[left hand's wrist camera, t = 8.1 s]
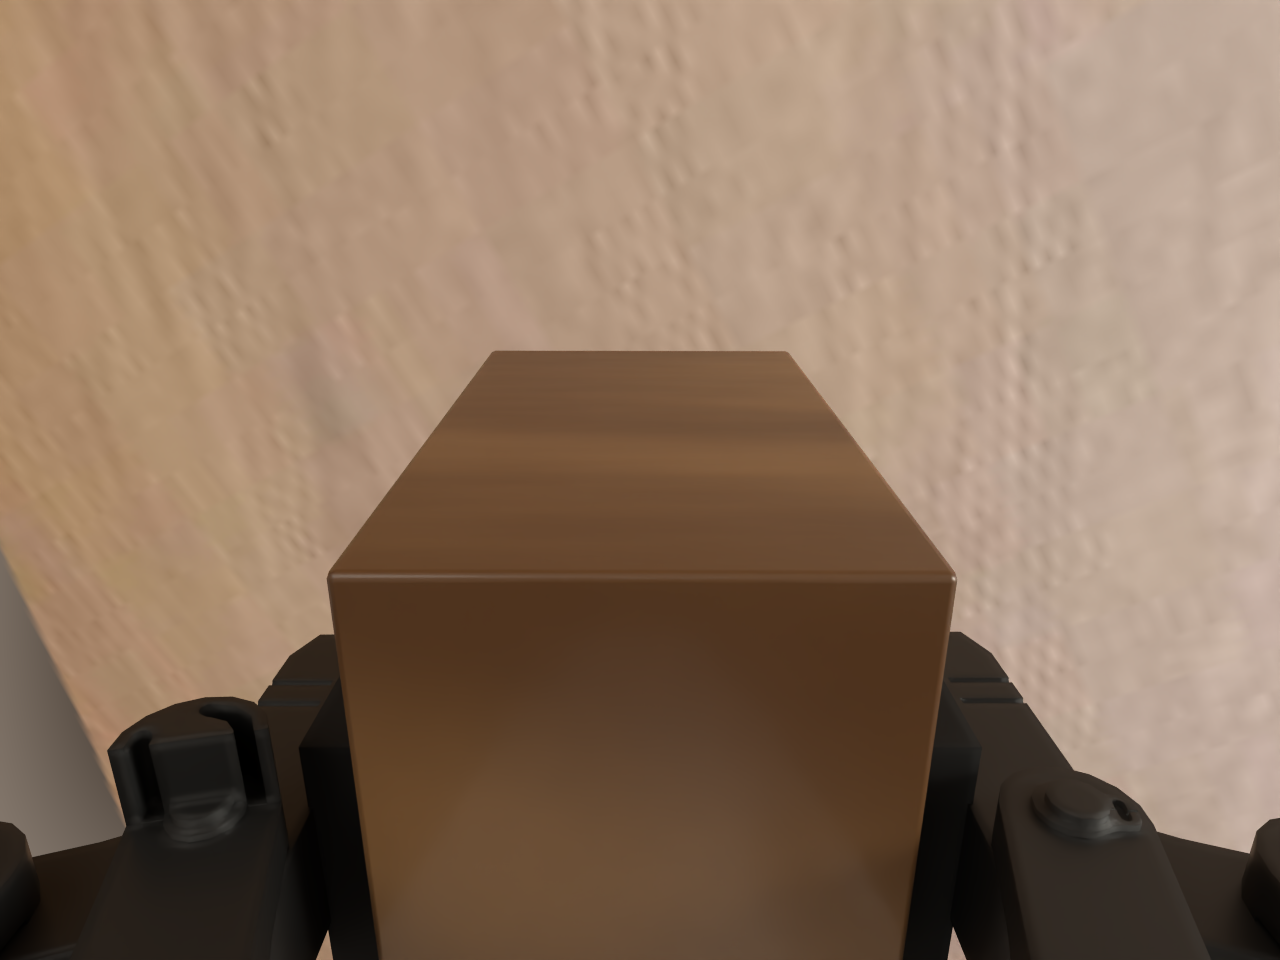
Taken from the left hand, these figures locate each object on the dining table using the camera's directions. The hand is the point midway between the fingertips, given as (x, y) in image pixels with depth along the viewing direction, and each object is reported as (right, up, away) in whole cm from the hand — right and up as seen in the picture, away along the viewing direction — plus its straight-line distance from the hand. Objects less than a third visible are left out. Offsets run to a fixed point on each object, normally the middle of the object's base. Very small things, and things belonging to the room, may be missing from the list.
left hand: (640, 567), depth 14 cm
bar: (0, -8, +4) cm, 9 cm away
